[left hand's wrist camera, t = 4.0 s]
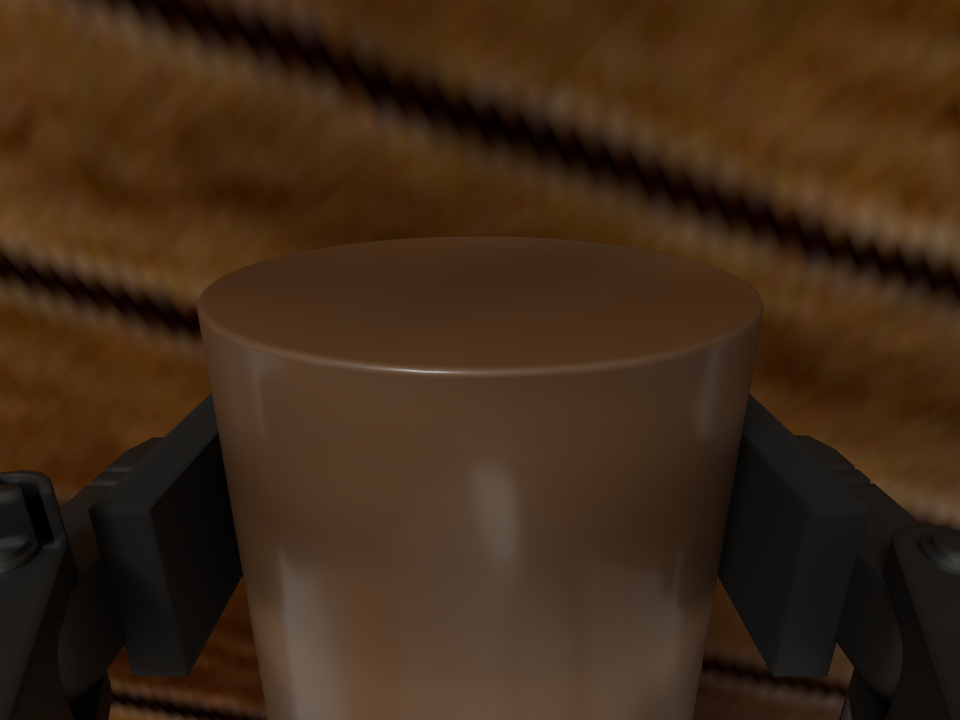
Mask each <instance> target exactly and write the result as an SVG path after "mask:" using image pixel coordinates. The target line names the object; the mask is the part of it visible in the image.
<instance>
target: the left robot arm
mask: <svg viewBox="0 0 960 720" xmlns="http://www.w3.org/2000/svg"><path fill="white" fill-rule="evenodd" d="M242 576H243V572H242V566H241V560H240V555H239V549H238V543H237V537H236V531H235V525H234V520H233V514H232V508H231V502H230V496H229V491H228V485H227V479H226V473H225V467H224V462H223V456H222V450H221V444H220V438H219V432H218V427H217V421H216V415H215V409H214V403H213V398H212V393H211V394H210V395H209V396H208V397H207V398H206V399H205V400H204V401H203V402H201V403H200V404H199V405H198V406H197V407H196V408H195V409H194V410H193V411H192V412H191V413H190V414H189V415H188V416H187V417H186V418H185V419H183V420H182V421H181V422H180V423H179V424H178V425H177V426H176V427H175V428H174V429H173V430H172V431H171V432H170V433H169V434H168V435H167V436H165V437H164V438H151V439H149V440H147V441H145V442H143V443H141V444H140V445H138V446H136V447H134V448H132V449H130V450H128V451H126V452H125V453H123V454H122V455H121V456H120V457H119V458H118V459H117V460H115V461H114V462H113V463H112V464H111V465H110V466H109V467H108V468H107V471H106V472H102V473H101V474H100V475H98V476H97V477H96V478H95V479H94V480H93V481H92V482H91V486H86V487H85V488H84V489H83V490H81V491H80V492H79V493H78V494H77V495H76V496H75V497H73V498H72V499H71V500H70V501H69V502H68V503H67V504H65V505H64V506H63V507H62V508H61V509H59V506H58V502H57V499H56V495H55V492H54V489H53V485H52V482H51V478H50V477H48V476H46V475H45V474H43V473H41V472H35V471H25V470H21V471H11V472H2V473H0V720H108V719H109V713H110V706H111V700H112V692H111V685H110V681H109V677H108V674H107V668H108V667H109V666H110V664H111V663H112V661H113V660H114V658H115V657H116V656H117V654H118V653H119V651H120V650H121V648H122V647H123V646H124V644H125V648H126V652H127V655H128V659H129V663H130V666H131V670H132V674H133V676H188V675H189V673H190V671H191V669H192V667H193V666H194V664H195V662H196V660H197V658H198V656H199V655H200V653H201V651H202V649H203V647H204V645H205V644H206V642H207V640H208V638H209V636H210V634H211V633H212V631H213V629H214V627H215V625H216V623H217V622H218V620H219V618H220V616H221V614H222V612H223V611H224V609H225V607H226V605H227V603H228V601H229V599H230V598H231V596H232V594H233V592H234V590H235V588H236V587H237V585H238V583H239V581H240V579H241V577H242ZM718 577H719V579H720V580H721V582H722V584H723V586H724V588H725V590H726V591H727V593H728V595H729V597H730V599H731V601H732V602H733V604H734V606H735V608H736V610H737V612H738V613H739V615H740V617H741V619H742V621H743V623H744V624H745V626H746V628H747V630H748V632H749V634H750V635H751V637H752V639H753V641H754V643H755V645H756V646H757V648H758V650H759V652H760V654H761V656H762V657H763V659H764V661H765V663H766V665H767V667H768V668H769V670H770V672H771V674H772V676H827V675H828V672H829V668H830V664H831V661H832V657H833V653H834V650H835V646H836V642H837V643H838V645H839V646H840V647H841V649H842V650H843V652H844V653H845V654H846V656H847V657H848V659H849V660H850V662H851V663H852V664H853V666H854V670H853V674H852V677H851V681H850V684H849V687H848V691H847V694H846V698H845V701H844V705H843V708H842V711H841V715H840V718H839V720H960V531H958V530H954V529H951V528H947V527H944V526H937V525H929V524H921V523H919V522H918V521H917V520H916V519H914V518H913V517H912V516H911V515H910V514H909V513H908V512H906V511H905V510H904V509H903V508H902V507H901V506H900V505H898V504H897V503H896V502H895V501H894V500H893V499H892V498H890V497H889V496H888V495H887V494H886V493H885V492H883V491H882V490H881V489H880V488H879V487H878V486H877V485H875V484H871V483H870V479H869V478H867V477H866V476H865V475H864V474H863V473H862V472H861V471H859V470H858V469H855V468H854V465H853V464H851V463H850V462H849V461H848V460H847V459H846V458H845V457H843V456H842V455H841V454H840V453H839V452H838V451H837V450H835V449H833V448H831V447H829V446H827V445H825V444H823V443H821V442H820V441H818V440H816V439H814V438H812V437H810V436H794V435H793V434H792V433H791V432H790V431H789V430H788V429H787V428H785V427H784V426H783V425H782V424H781V423H780V422H779V421H778V420H777V419H776V418H775V417H774V416H773V415H772V414H771V413H770V412H768V411H767V410H766V409H765V408H764V407H763V406H762V405H761V404H760V403H759V402H758V401H757V400H756V399H755V398H754V397H753V396H752V395H750V394H749V396H748V401H747V407H746V413H745V419H744V425H743V430H742V436H741V442H740V448H739V453H738V459H737V465H736V471H735V477H734V482H733V488H732V494H731V500H730V506H729V511H728V517H727V523H726V529H725V534H724V540H723V546H722V552H721V558H720V563H719V569H718Z"/></svg>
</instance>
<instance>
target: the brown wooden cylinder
mask: <svg viewBox="0 0 960 720" xmlns="http://www.w3.org/2000/svg"><path fill="white" fill-rule="evenodd" d="M763 308H764V307H763V303H762V300H761V298H760V296H759V293H758V292H757V291H756V290H755V289H754V288H753V287H752V286H751V285H750V284H748V283H747V282H745V281H743V280H742V279H740V278H739V277H737V276H735V275H732V274H730V273H728V272H726V271H724V270H721V269H719V268H716V267H714V266H711V265H708V264H705V263H702V262H699V261H695V260H692V259H688V258H684V257H680V256H676V255H671V254H667V253H663V252H657V251H652V250H647V249H641V248H634V247H628V246H621V245H613V244H605V243H597V242H587V241H576V240H564V239H549V238H530V237H488V236H472V237H430V238H411V239H396V240H384V241H373V242H363V243H355V244H347V245H339V246H332V247H326V248H319V249H314V250H308V251H303V252H297V253H293V254H289V255H284V256H280V257H276V258H272V259H269V260H265V261H262V262H258V263H255V264H252V265H250V266H247V267H244V268H241V269H239V270H237V271H234V272H232V273H230V274H228V275H226V276H224V277H222V278H220V279H219V280H217V281H215V282H214V283H212V284H211V285H210V286H209V287H208V288H207V289H206V290H205V291H204V292H203V293H202V295H201V297H200V300H199V302H198V305H197V310H198V316H199V322H200V328H201V334H202V339H203V345H204V351H205V357H206V363H207V369H208V374H209V380H210V386H211V392H212V398H213V403H214V409H215V415H216V421H217V427H218V432H219V438H220V444H221V450H222V456H223V462H224V467H225V473H226V479H227V485H228V491H229V496H230V502H231V508H232V514H233V520H234V525H235V531H236V537H237V543H238V549H239V555H240V560H241V566H242V572H243V578H244V584H245V589H246V595H247V601H248V607H249V613H250V619H251V624H252V630H253V636H254V642H255V648H256V653H257V659H258V665H259V671H260V677H261V682H262V688H263V694H264V700H265V706H266V712H267V717H268V720H693V714H694V708H695V702H696V696H697V691H698V685H699V679H700V673H701V668H702V662H703V656H704V650H705V644H706V639H707V633H708V627H709V621H710V615H711V610H712V604H713V598H714V592H715V587H716V581H717V575H718V569H719V563H720V558H721V552H722V546H723V540H724V534H725V529H726V523H727V517H728V511H729V506H730V500H731V494H732V488H733V482H734V477H735V471H736V465H737V459H738V453H739V448H740V442H741V436H742V430H743V425H744V419H745V413H746V407H747V401H748V396H749V390H750V384H751V378H752V372H753V367H754V361H755V355H756V349H757V344H758V338H759V332H760V326H761V320H762V314H763Z"/></svg>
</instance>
